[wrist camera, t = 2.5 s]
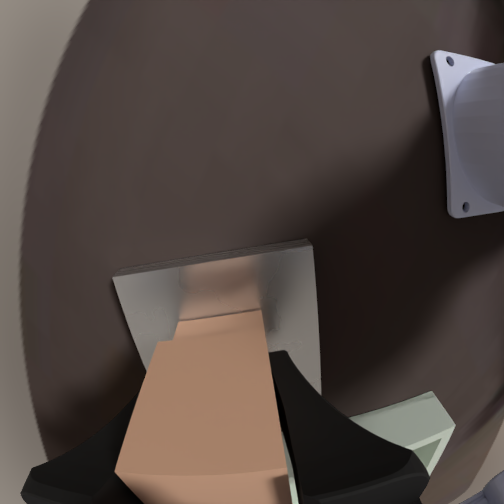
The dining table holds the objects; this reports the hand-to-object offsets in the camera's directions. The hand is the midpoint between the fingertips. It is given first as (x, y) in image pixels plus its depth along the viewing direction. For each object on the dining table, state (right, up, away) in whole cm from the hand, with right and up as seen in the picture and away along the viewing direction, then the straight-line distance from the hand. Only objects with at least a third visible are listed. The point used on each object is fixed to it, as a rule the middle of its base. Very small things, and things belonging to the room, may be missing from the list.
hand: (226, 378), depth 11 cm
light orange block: (0, +1, +2) cm, 2 cm away
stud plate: (0, +1, +3) cm, 3 cm away
